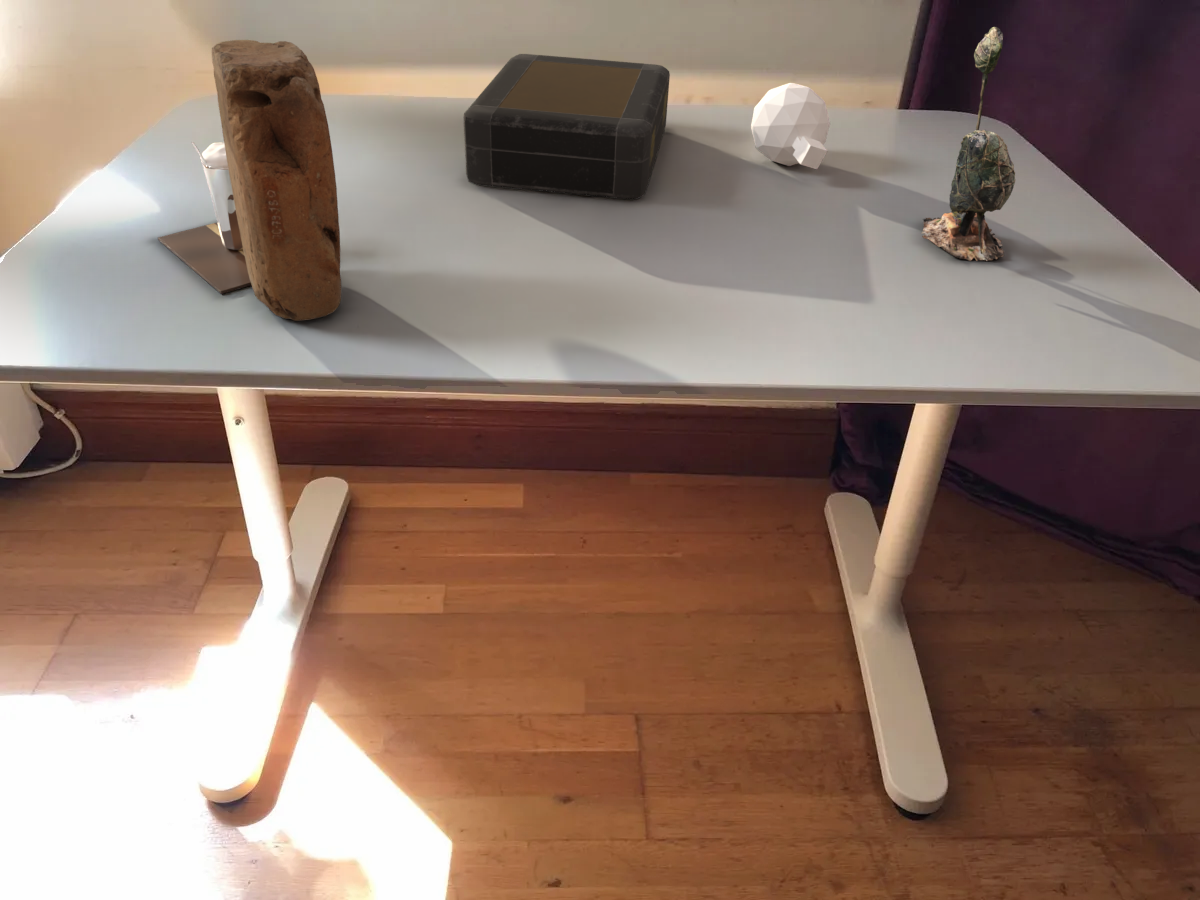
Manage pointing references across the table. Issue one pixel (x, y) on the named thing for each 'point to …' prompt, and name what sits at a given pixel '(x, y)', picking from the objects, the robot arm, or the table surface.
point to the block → (281, 175)
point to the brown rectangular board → (210, 257)
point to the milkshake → (221, 193)
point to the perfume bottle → (791, 126)
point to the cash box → (568, 126)
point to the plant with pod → (976, 179)
